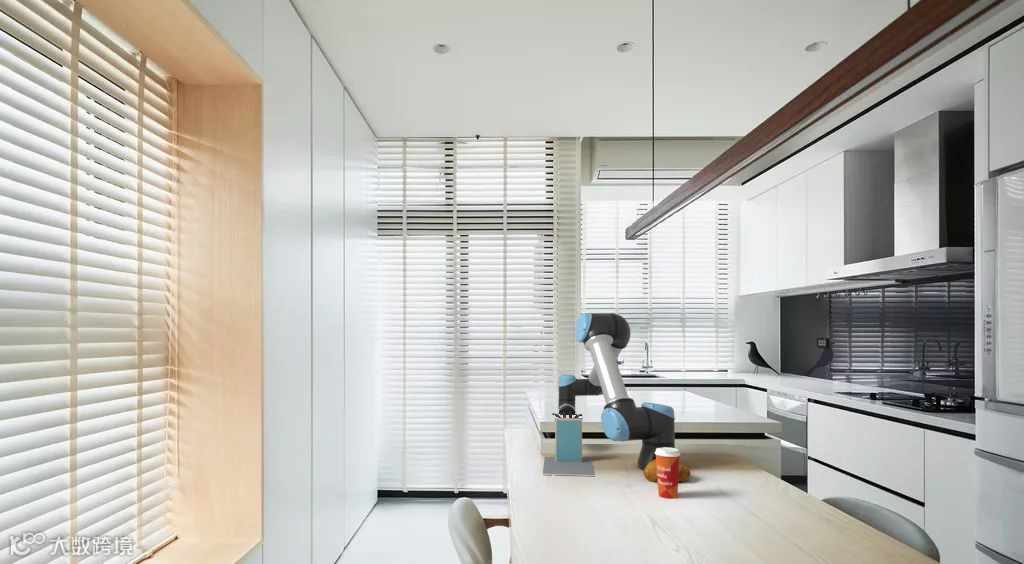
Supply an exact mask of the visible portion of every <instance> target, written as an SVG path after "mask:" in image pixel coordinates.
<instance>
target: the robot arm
mask: <svg viewBox="0 0 1024 564" xmlns="http://www.w3.org/2000/svg"><path fill="white" fill-rule="evenodd" d="M628 322H629V321H627V320H626V319H625V318H624V316H621V315H620V314H616V313H592V312H589V313H582V314H580V315H579V316H578V317H577V320H576V323H575V330H574V331H575V339H576V341H577V342H578V343H583V345H584V348H585V350H586V351H588V352H589V353H590V355H591V358H592V362H593V367H592V369H591V371H590V372H589V375H588V377H587V378H576V375H574V374H561V375H559V377H558V384H557V385H558V399H557V400H558V401H557V402H558V404H557V405H558V406H557V410H558V409H559V413H554V412H553V413H551V416H552V415H555V416H556V417H558V418H561V417H560V416H559V415H558V414H560V415H563V418H566V415H569V418H572V415H576V416H575V417H574V418H578V417H579V416H582V417H583V414H582V413H580V414H577V412H576V397H582V396H584V397H585V396H586V397H587V396H596V397H597V396H602V395H603V398H604V401H605V405H604V406H603V411H602V412H601V415H600V420H601V422H600V423H601V428H602V431H603V433H604V434H605V436H606V437H607V438H608V439H609V440H611V441H613V442H622V443H623V442H629V441H641V443H642V444H641V448H640V451H639V456H638V458H637V468H639V469H640V470H642V471H644V469H645V468H646V466H647V465H648V463H649V462H651V461H652V460H654V459H656V454H655V452H656V449H657V448H664V447H668V448H675V449H676V446H675V445H676V442H675V432H676V431H675V428H676V427H675V421H676V418H675V411H674V410H675V409H674V408H673V407H672V406H671V405H667V404H661V403H653V402H646V401H644V402H642V403H641V406H637V405H636V403H635V400H634V399H633V398H631V397H630V396H629V394H628V393H627V392H628V391H627V389H626V386H625V383H624V380H623V377H622V374H621V371H620V368H619V365H618V362H617V360H618V358H619V356H620V354H621V352H622V350H624V349H626V348H627V346H628V344H629V343H630V339H631V327H630V325H629V323H628ZM575 413H576V414H575Z"/></svg>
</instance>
